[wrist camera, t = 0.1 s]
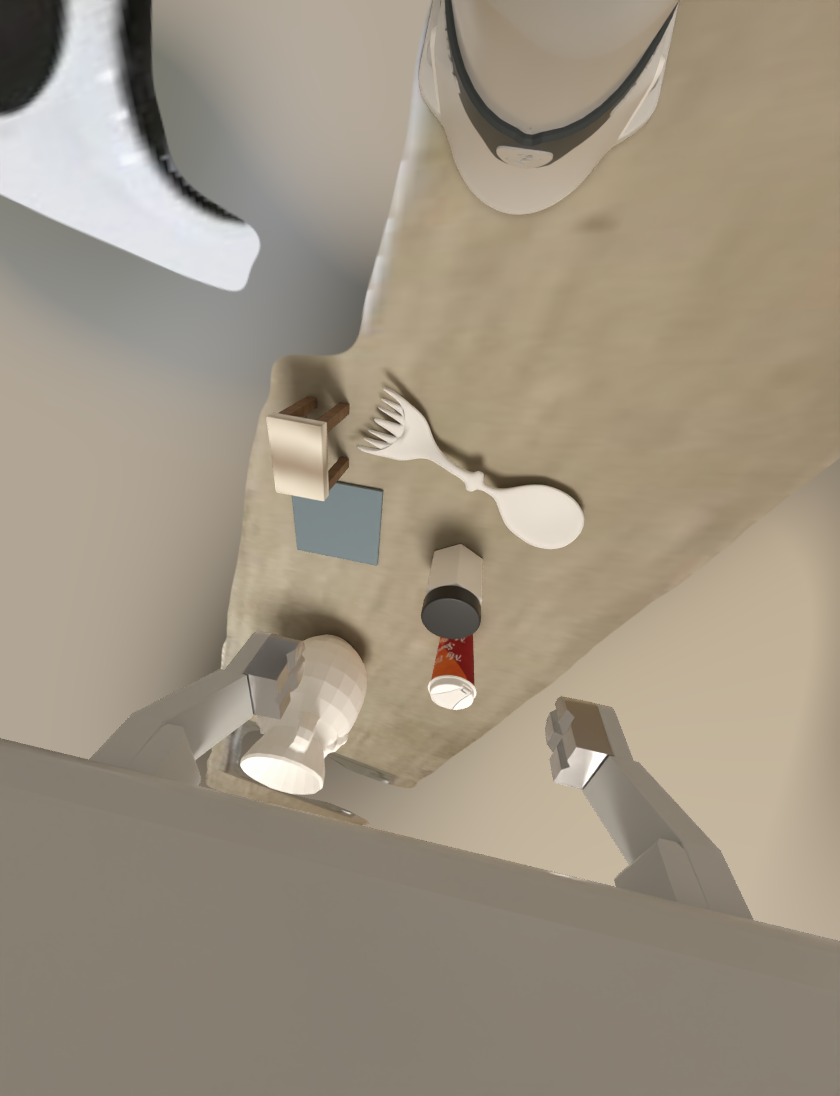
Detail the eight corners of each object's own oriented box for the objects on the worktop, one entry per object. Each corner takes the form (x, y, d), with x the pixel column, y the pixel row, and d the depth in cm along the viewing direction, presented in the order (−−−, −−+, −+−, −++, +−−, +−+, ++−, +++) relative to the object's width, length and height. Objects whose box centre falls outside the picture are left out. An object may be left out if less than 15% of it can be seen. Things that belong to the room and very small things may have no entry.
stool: (305, 394, 45) (266, 416, 37) (350, 402, 45) (321, 426, 37) (309, 460, 51) (276, 492, 43) (350, 468, 50) (324, 501, 42)
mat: (291, 472, 52) (289, 474, 52) (383, 490, 52) (382, 492, 51) (298, 547, 61) (297, 549, 60) (377, 563, 60) (377, 565, 60)
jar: (441, 589, 61) (432, 644, 51) (421, 553, 57) (408, 605, 48) (491, 577, 58) (491, 634, 48) (474, 538, 54) (471, 591, 44)
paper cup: (458, 608, 63) (451, 676, 52) (486, 632, 65) (486, 702, 54) (428, 627, 67) (416, 693, 56) (456, 648, 69) (450, 716, 58)
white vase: (355, 685, 83) (313, 810, 63) (283, 651, 79) (213, 772, 59) (391, 646, 72) (354, 781, 52) (309, 605, 69) (236, 733, 49)
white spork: (389, 378, 43) (382, 384, 40) (595, 507, 48) (601, 520, 46) (361, 441, 48) (353, 450, 45) (550, 550, 54) (553, 565, 51)
